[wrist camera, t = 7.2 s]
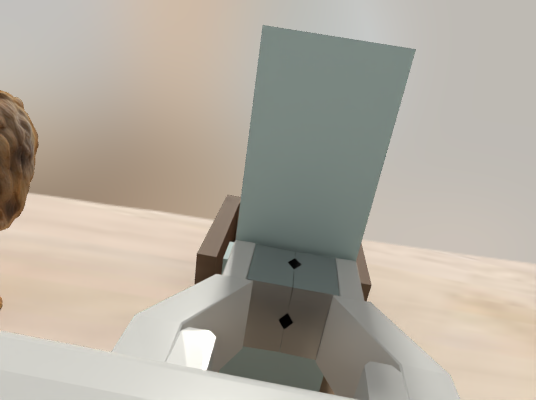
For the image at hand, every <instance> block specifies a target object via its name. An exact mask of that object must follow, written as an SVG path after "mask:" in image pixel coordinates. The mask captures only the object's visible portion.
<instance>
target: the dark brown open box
mask: <svg viewBox="0 0 536 400" xmlns="http://www.w3.org/2000/svg"><path fill="white" fill-rule="evenodd" d="M240 202H241V197H237V196H232V195H227V197H226V199H225V201H224V202H223V204H222V207H221V208H220V210H219V212H218V214H217V216H216V218H215V220H214V222H213V224H212V226H211V228H210V229H209V231H208V233H207V235H206V237H205V239H204V241H203V243H202V245H201V247H200V249H199V251H198V253H197V260H196V273H195V284H197V283H199V282H201V281H203V280H205V279H207V278H209V277H211V276H213V275H215V274H220V275H221V273H222V265H223V258H224V255H225V253H226V250H227V248H228V245H229V242H235V241H236V233H237V225H238V217H239V209H240ZM356 263H357V268H358V272H359V277H360V282H361V287H362V291H363V296H364V301H367V298H368V294H369V291H370V288H371V281H370V277H369V273H368V269H367V265H366V261H365V256H364V252H363V248H362V244H361V245H360V249H359V252H358V256H357V259H356Z"/></svg>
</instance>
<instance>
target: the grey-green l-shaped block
mask: <svg viewBox="0 0 536 400" xmlns="http://www.w3.org/2000/svg"><path fill="white" fill-rule="evenodd" d="M415 51H416V49H410V48H404V47H397V46H391V45H385V44H379V43H373V42H366V41H360V40H353V39H347V38H341V37H335V36H328V35H322V34H316V33H310V32H302V31H297V30H291V29H284V28H278V27H271V26H265V25H263V28H262V36H261V44H260V52H259V59H258V67H257V75H256V83H255V91H254V99H253V107H252V115H251V122H250V130H249V138H248V146H247V154H246V162H245V171H244V178H243V187H242V194H241V202H240V209H239V217H238V225H237V233H236V240H241V241H247V242H253V243H255V244H256V243H257V244H262V245H267V246H272V247H277V248H282V249H287V250H292V251H295V252H301V253H308V254H314V255H321V256H327V257H334V258H339V259H347V260H354V261H355V262H356V259H357V256H358V252H359V249H360V245H361V242H362V237H363V234H364V231H365V227H366V224H367V220H368V216H369V213H370V210H371V206H372V203H373V199H374V195H375V192H376V189H377V185H378V181H379V177H380V174H381V171H382V167H383V164H384V160H385V157H386V153H387V150H388V146H389V143H390V139H391V135H392V131H393V128H394V125H395V121H396V118H397V114H398V111H399V107H400V104H401V100H402V97H403V93H404V89H405V86H406V82H407V79H408V75H409V72H410V68H411V65H412V61H413V58H414V54H415ZM233 244H234V242H229V245H228V248H227V250H226V253H225V255H224V258H223V265H222V273H221V275H222V274H223V271H224V268H225V266H226V263H227V260H228V258H229V255H230V252H231V250H232V247H233ZM219 373H224V374H229V375H234V376H239V377H244V378H249V379H255V380H260V381H265V382H270V383H275V384H280V385H286V386H291V387H296V388H301V389H306V390H311V391H317V392H319V390H320V387H321V383H322V380H323V376H324V375H323V374H322V372H321V370H320V369H319V367H318V365H317V363H316V360H313V359H308V358H303V357H299V356H294V355H290V354H285V353H281V352H280V350H279V352H275V351H269V350H263V349H256V348H250V347H244V346H243V348H242V349H241V350H240V351H239V352H238V353H237V354H236V355H235V356H234V357H233V358H232V359H231V360H230V361H229V362H227V363H226V364H225V365H224V366H223V367H222V368H221V369H220V370H219Z"/></svg>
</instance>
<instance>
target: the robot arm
mask: <svg viewBox="0 0 536 400" xmlns="http://www.w3.org/2000/svg"><path fill="white" fill-rule="evenodd" d="M243 346H244V347H250V348H256V349H263V350H269V351H275V352H279V350H280V352H281V353H285V354H290V355H294V356H299V357H303V358H308V359H313V360H316V363H317V365H318V367H319V369H320V370H321V372H322V374H323V375H324V377H325V379H326V380H327V382H328V384H329V385H330V387H331V389H332V390H333V392H334V394H335V395H332V394H327V393H322V392H317V391H311V390H306V389H301V388H296V387H291V386H286V385H280V384H275V383H270V382H265V381H260V380H255V379H249V378H244V377H239V376H234V375H229V374H224V373H218V371H219V370H220V369H221V368H222V367H223V366H224V365H225V364H226V363H227V362H229V361H230V360H231V359H232V358H233V357H234V356H235V355H236V354H237V353H238V352H239V351H240V350H241V349H242V348H243ZM0 400H460V397H459V395H458V392H457V390H456V387H455V385H454V383H453V380H452V378H451V375H450V374H449V373H447V372H446V371H445V370H444V369H443V368H442V367H441V366H440V365H439V364H438V363H437V362H435V361H434V360H433V359H432V358H431V357H430V356H429V355H428V354H427V353H426V352H424V351H423V350H422V349H421V348H420V347H419V346H418V345H417V344H416V343H415V342H414V341H412V340H411V339H410V338H409V337H408V336H407V335H406V334H405V333H404V332H403V331H402V330H400V329H399V328H398V327H397V326H396V325H395V324H394V323H393V322H392V321H391V320H389V319H388V318H387V317H386V316H385V315H384V314H383V313H382V312H381V311H380V310H379V309H377V308H376V307H375V306H374V305H373V304H372V303H371V302H367V301H364V296H363V291H362V287H361V282H360V277H359V272H358V268H357V263H356V262H355V261H354V260H347V259H339V258H334V257H327V256H321V255H314V254H308V253H301V252H295V251H292V250H287V249H282V248H277V247H272V246H267V245H262V244H257V243H256V244H255V243H253V242H247V241H241V240H236V241H235V242H234V244H233V247H232V250H231V252H230V255H229V258H228V260H227V263H226V266H225V268H224V271H223V274H222V275H220V274H215V275H213V276H211V277H209V278H207V279H205V280H203V281H201V282H199V283H197V284H195V285H193V286H191V287H189V288H187V289H185V290H183V291H181V292H179V293H177V294H175V295H173V296H171V297H169V298H167V299H165V300H163V301H161V302H159V303H157V304H155V305H153V306H151V307H149V308H147V309H145V310H143V311H142V312H140V313H138V314H136V315H134V317H133V318H132V320H131V322H130V323H129V325H128V326H127V328H126V329H125V331H124V333H123V334H122V336H121V337H120V339H119V340H118V342H117V344H116V345H115V347H114V348H113V350H112V351H111V352H110V351H105V350H99V349H94V348H89V347H84V346H79V345H74V344H68V343H63V342H58V341H53V340H48V339H42V338H37V337H32V336H27V335H22V334H17V333H11V332H6V331H1V330H0Z"/></svg>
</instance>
